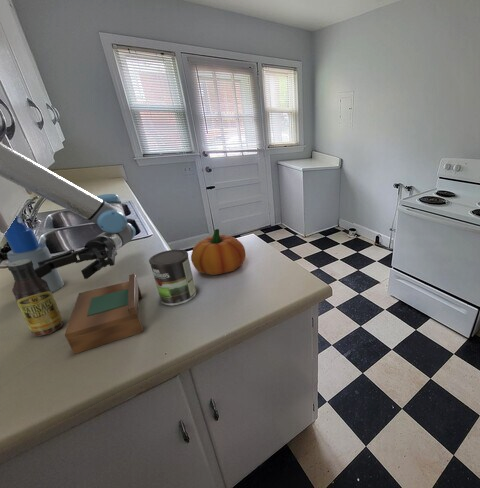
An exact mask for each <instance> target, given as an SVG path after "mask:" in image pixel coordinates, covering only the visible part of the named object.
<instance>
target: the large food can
mask: <svg viewBox="0 0 480 488" xmlns="http://www.w3.org/2000/svg"><path fill="white" fill-rule="evenodd" d="M148 262H149V265H150V269H151V271H152V274H153V278H154V281H155V284H156V288H157V291H158V295H159V298H160V302H161V304H162V305H164V306H169V307H170V306H171V307H172V306H178V305H182V304H185V303H187V302H189V301H191V300H192V299H193V298H195V297H196V295H197V289H196V285H195V281H194V277H193V272H192V267H191V263H190V259H189V252H188V251H186V250H184V249H168V250H164V251H161V252H158V253H156V254H153V255H152V256H151V257H149V259H148Z"/></svg>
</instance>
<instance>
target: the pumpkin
mask: <svg viewBox="0 0 480 488" xmlns="http://www.w3.org/2000/svg"><path fill="white" fill-rule="evenodd" d="M246 256H247V253H246V249H245V246H244V244H243V243H242V242H241V241H240V240H238V238H236V237H234V236H231V235H224V234H220V229H219V228H215V229H214V231H213V235H211V236H207V237H205V238H204V239H202V240H200V241H199V242H197V243H196V244H195V245H194V246H193V248H192V251H191V255H190V261H191V263H192V265H193V267H194V268H195V270H196V271H197V272H199V273H201V274H206V275H210V276H211V275H212V276H213V275H214V276H216V275H222V274H227V273H230V272H234V271H235V270H236V269H238V268H240V266H242V265H243V264H244V262H245V260H246Z"/></svg>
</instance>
